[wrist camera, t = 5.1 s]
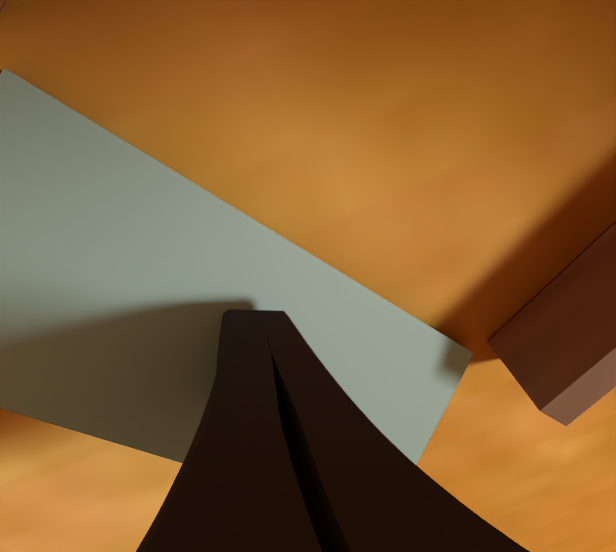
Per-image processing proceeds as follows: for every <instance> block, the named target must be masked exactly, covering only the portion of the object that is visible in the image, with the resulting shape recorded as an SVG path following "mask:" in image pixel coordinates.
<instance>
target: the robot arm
mask: <svg viewBox="0 0 616 552" xmlns="http://www.w3.org/2000/svg"><path fill="white" fill-rule="evenodd" d="M136 552H529V551H528V550H526V549H525V548H523V547H522V546H520V545H519V544H517V543H516V542H514V541H513V540H512V539H510V538H509V537H507V536H506V535H505V534H503V533H502V532H500V531H499V530H498V529H496V528H495V527H493V526H492V525H490V524H489V523H488V522H486V521H485V520H483V519H482V518H481V517H479V516H478V515H477V514H475V513H474V512H473V511H471V510H470V509H469V508H468V507H466V506H465V505H464V504H462V503H461V502H460V501H458V500H457V499H456V498H455V497H454V496H452V495H451V494H450V493H449V492H447V491H446V490H445V489H444V488H443V487H441V486H440V485H439V484H438V483H436V482H435V481H434V480H433V479H432V478H430V477H429V476H428V475H427V474H426V473H424V472H423V471H422V470H421V469H420V468H419V467H418V466H416V465H415V464H414V463H413V462H412V461H411V460H410V459H409V458H408V457H407V456H405V455H404V454H403V453H402V452H401V451H400V450H399V449H398V448H397V447H396V446H395V445H394V444H393V443H392V442H391V441H390V440H389V439H388V438H387V437H386V436H385V435H384V434H383V433H382V432H381V431H380V430H379V429H378V428H377V427H376V426H375V425H374V424H373V423H372V422H371V421H370V420H369V419H368V417H367V416H366V415H365V414H364V413H363V412H362V411H361V410H360V408H359V407H358V406H357V405H356V404H355V403H354V402H353V401H352V399H351V398H350V397H349V396H348V395H347V393H346V392H345V391H344V390H343V389H342V387H341V386H340V385H339V384H338V382H337V381H336V380H335V379H334V377H333V376H332V375H331V374H330V372H329V371H328V370H327V369H326V367H325V366H324V365H323V363H322V362H321V361H320V360H319V358H318V357H317V356H316V354H315V353H314V351H313V350H312V349H311V347H310V346H309V345H308V343H307V342H306V340H305V339H304V338H303V336H302V335H301V333H300V332H299V330H298V329H297V328H296V326H295V325H294V323H293V322H292V320H291V319H290V317H289V316H288V315H287V314H286V312H285V311H273V310H235V309H229V310H227V311H226V312H224V313H223V314H222V322H221V330H220V338H219V347H218V355H217V369H216V376H215V379H214V383H213V387H212V390H211V393H210V396H209V398H208V401H207V404H206V407H205V410H204V413H203V416H202V418H201V421H200V424H199V426H198V429H197V431H196V434H195V436H194V439H193V441H192V444H191V446H190V448H189V450H188V453H187V455H186V457H185V459H184V462H183V464H182V466H181V468H180V470H179V472H178V474H177V476H176V478H175V480H174V483H173V485H172V487H171V489H170V491H169V493H168V495H167V497H166V499H165V501H164V503H163V505H162V506H161V508H160V510H159V512H158V514H157V516H156V518H155V520H154V521H153V523H152V525H151V527H150V528H149V530H148V532H147V534H146V535H145V537H144V539H143V540H142V542H141V544H140V546H139V547H138V549H137V551H136Z"/></svg>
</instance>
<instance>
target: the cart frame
mask: <svg viewBox="0 0 616 552" xmlns="http://www.w3.org/2000/svg"><path fill="white" fill-rule="evenodd" d="M4 2H5V0H0V10H1V8H2V6H3V4H4ZM487 342H488V343H489V345H490V346H491V347H492V348H493V350H494V351H495V352H496V354H497V355H498V356H499V358H500V359H501V360H502V362H503V363H504V364H505V366H506V367H507V368H508V370H509V371H510V372H511V374H512V375H513V376H514V377H515V379H516V380H517V381H518V383H519V384H520V385H521V387H522V388H523V389H524V391H525V392H526V393H527V395H528V396H529V397H530V399H531V400H532V401H533V403H534V404H535V405H536V406H537V408H538V409H539V410H540V411H541V412H543V413H544V414H546V415H548V416H549V417H551V418H553V419H555V420H556V421H558V422H560V423H562V424H563V425H565V426H567V425H568V424H570V423H571V422H572V421H573V420H575V419H576V418H577V417H578V416H580V415H581V414H582V413H583V412H584V411H586V410H587V409H588V408H589V407H591V406H592V405H593V404H594V403H596V402H597V401H598V400H599V399H601V398H602V397H603V396H604V395H606V394H607V393H608V392H609V391H610V390H612V389H613V388H614V387H615V386H616V223H614V224H613V225H612V226H611V227H610V228H609V229H608V230H607V231H606V232H605V233H604V234H603V235H602V236H600V237H599V238H598V239H597V240H596V241H595V242H594V243H593V244H592V245H591V246H590V247H589V248H588V249H586V250H585V251H584V252H583V253H582V254H581V255H580V256H579V257H578V258H577V259H576V260H575V261H574V262H572V263H571V264H570V265H569V266H568V267H567V268H566V269H565V270H564V271H563V272H562V273H561V274H559V275H558V276H557V277H556V278H555V279H554V280H553V281H552V282H551V283H550V284H549V285H548V286H547V287H545V288H544V289H543V290H542V291H541V292H540V293H539V294H538V295H537V296H536V297H535V298H534V299H533V300H531V301H530V302H529V303H528V304H527V305H526V306H525V307H524V308H523V309H522V310H521V311H520V312H519V313H517V314H516V315H515V316H514V317H513V318H512V319H511V320H510V321H509V322H508V323H507V324H506V325H505V326H503V327H502V328H501V329H500V330H499V331H498V332H497V333H496V334H495V335H494V336H493V337H492V338H491V339H489V340H488V341H487Z"/></svg>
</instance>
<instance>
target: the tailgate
mask: <svg viewBox="0 0 616 552" xmlns="http://www.w3.org/2000/svg"><path fill="white" fill-rule="evenodd" d="M229 309H235V310H273V311H285V312H286V314H287V315H288V316H289V317H290V319H291V320H292V322H293V323H294V325H295V326H296V328H297V329H298V330H299V332H300V333H301V335H302V336H303V338H304V339H305V340H306V342H307V343H308V345H309V346H310V347H311V349H312V350H313V351H314V353H315V354H316V356H317V357H318V358H319V360H320V361H321V362H322V363H323V365H324V366H325V367H326V369H327V370H328V371H329V372H330V374H331V375H332V376H333V377H334V379H335V380H336V381H337V382H338V384H339V385H340V386H341V387H342V389H343V390H344V391H345V392H346V393H347V395H348V396H349V397H350V398H351V399H352V401H353V402H354V403H355V404H356V405H357V406H358V407H359V408H360V410H361V411H362V412H363V413H364V414H365V415H366V416H367V417H368V419H369V420H370V421H371V422H372V423H373V424H374V425H375V426H376V427H377V428H378V429H379V430H380V431H381V432H382V433H383V434H384V435H385V436H386V437H387V438H388V439H389V440H390V441H391V442H392V443H393V444H394V445H395V446H396V447H397V448H398V449H399V450H400V451H401V452H402V453H403V454H404V455H405V456H407V457H408V458H409V459H410V460H411V461H412V462H413V463H414V464H415V465H416V464H417V462H418V460H419V458H420V457H421V455H422V453H423V451H424V449H425V447H426V445H427V443H428V441H429V439H430V437H431V435H432V433H433V431H434V430H435V428H436V426H437V424H438V422H439V420H440V418H441V416H442V414H443V412H444V410H445V408H446V406H447V405H448V403H449V401H450V399H451V397H452V395H453V393H454V391H455V389H456V387H457V385H458V383H459V381H460V379H461V378H462V376H463V374H464V372H465V370H466V368H467V366H468V364H469V362H470V360H471V358H472V356H473V354H474V353H473V352H471V351H469V350H468V349H466V348H464V347H463V346H461V345H459V344H458V343H456V342H455V341H453V340H451V339H450V338H448V337H446V336H445V335H443V334H441V333H440V332H438V331H436V330H435V329H433V328H432V327H430V326H428V325H427V324H425V323H423V322H422V321H420V320H418V319H417V318H415V317H413V316H412V315H410V314H409V313H407V312H405V311H404V310H402V309H400V308H399V307H397V306H395V305H394V304H392V303H390V302H389V301H387V300H386V299H384V298H382V297H381V296H379V295H377V294H376V293H374V292H372V291H371V290H369V289H367V288H366V287H364V286H363V285H361V284H359V283H358V282H356V281H354V280H353V279H351V278H349V277H348V276H346V275H344V274H343V273H341V272H340V271H338V270H336V269H335V268H333V267H331V266H330V265H328V264H326V263H325V262H323V261H321V260H320V259H318V258H317V257H315V256H313V255H312V254H310V253H308V252H307V251H305V250H303V249H302V248H300V247H298V246H297V245H295V244H294V243H292V242H290V241H289V240H287V239H285V238H284V237H282V236H280V235H279V234H277V233H275V232H274V231H272V230H271V229H269V228H267V227H266V226H264V225H262V224H261V223H259V222H257V221H256V220H254V219H252V218H251V217H249V216H248V215H246V214H244V213H243V212H241V211H239V210H238V209H236V208H234V207H233V206H231V205H229V204H228V203H226V202H225V201H223V200H221V199H220V198H218V197H216V196H215V195H213V194H211V193H210V192H208V191H206V190H205V189H203V188H202V187H200V186H198V185H197V184H195V183H193V182H192V181H190V180H188V179H187V178H185V177H183V176H182V175H180V174H178V173H177V172H175V171H174V170H172V169H170V168H169V167H167V166H165V165H164V164H162V163H160V162H159V161H157V160H155V159H154V158H152V157H151V156H149V155H147V154H146V153H144V152H142V151H141V150H139V149H137V148H136V147H134V146H132V145H131V144H129V143H128V142H126V141H124V140H123V139H121V138H119V137H118V136H116V135H114V134H113V133H111V132H109V131H108V130H106V129H105V128H103V127H101V126H100V125H98V124H96V123H95V122H93V121H91V120H90V119H88V118H86V117H85V116H83V115H82V114H80V113H78V112H77V111H75V110H73V109H72V108H70V107H68V106H67V105H65V104H63V103H62V102H60V101H59V100H57V99H55V98H54V97H52V96H50V95H49V94H47V93H45V92H44V91H42V90H40V89H39V88H37V87H36V86H34V85H32V84H31V83H29V82H27V81H26V80H24V79H22V78H21V77H19V76H17V75H16V74H14V73H13V72H11V71H9V70H8V69H6V68H3V70H2V72H1V74H0V408H1V409H5V410H8V411H11V412H15V413H18V414H21V415H25V416H28V417H31V418H35V419H38V420H41V421H44V422H48V423H51V424H54V425H58V426H61V427H64V428H68V429H71V430H74V431H78V432H81V433H84V434H88V435H91V436H94V437H98V438H101V439H104V440H108V441H111V442H114V443H118V444H121V445H124V446H128V447H131V448H134V449H138V450H141V451H144V452H148V453H151V454H154V455H158V456H161V457H164V458H168V459H171V460H174V461H178V462H181V463H183V462H184V459H185V457H186V455H187V453H188V450H189V448H190V446H191V444H192V441H193V439H194V436H195V434H196V431H197V429H198V426H199V424H200V421H201V418H202V416H203V413H204V410H205V407H206V404H207V401H208V398H209V396H210V393H211V390H212V387H213V383H214V379H215V376H216V369H217V355H218V347H219V338H220V330H221V322H222V314H223V313H224V312H226V311H227V310H229Z"/></svg>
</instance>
